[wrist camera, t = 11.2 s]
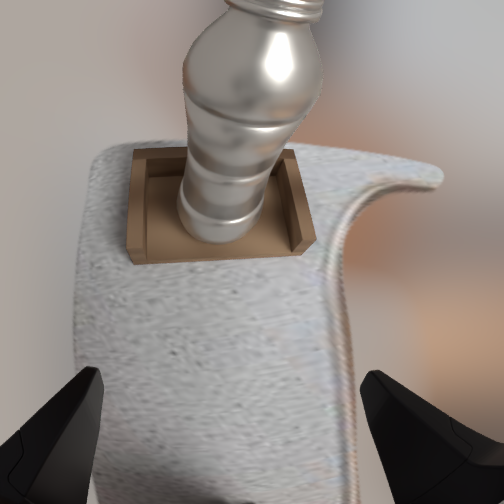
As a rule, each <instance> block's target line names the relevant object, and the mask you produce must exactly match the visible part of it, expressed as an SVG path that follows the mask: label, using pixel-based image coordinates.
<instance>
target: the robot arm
mask: <svg viewBox="0 0 504 504" xmlns="http://www.w3.org/2000/svg"><path fill="white" fill-rule="evenodd" d="M103 394H104V384H103V381H102V377H101V374H100V370H99V369H98V368H96V367H90V366H86V367H85V368H84V369H82V370H81V371H80V372H79V373H78V374H77V375H76V376H75V377H74V378H73V379H72V380H70V381H69V382H68V383H67V384H66V385H65V386H64V387H63V388H62V389H61V390H60V391H59V392H58V393H57V394H55V395H54V396H53V397H52V398H51V399H50V400H49V401H48V402H47V403H46V404H45V405H44V406H43V407H42V408H40V409H39V410H38V411H37V412H36V413H35V414H34V415H33V416H32V417H31V418H30V419H29V420H28V421H27V422H26V423H25V424H24V425H23V426H22V427H21V428H20V430H17V431H16V432H15V434H13V435H12V436H11V437H10V438H9V439H8V440H7V441H6V442H5V443H3V444H2V445H1V446H0V504H86V503H87V496H88V489H89V483H90V477H91V471H92V465H93V460H94V455H95V450H96V445H97V440H98V435H99V429H100V420H101V410H102V402H103ZM360 394H361V397H362V402H363V405H364V410H365V414H366V418H367V422H368V426H369V428H370V431H371V434H372V437H373V439H374V443H375V445H376V448H377V451H378V454H379V457H380V460H381V462H382V465H383V468H384V471H385V474H386V477H387V480H388V483H389V486H390V489H391V493H392V496H393V498H394V502H395V504H504V443H500V442H496V441H494V440H492V439H490V438H488V437H486V436H484V435H482V434H480V433H478V432H476V431H474V430H472V429H470V428H468V427H466V426H465V425H463V424H461V423H460V422H458V421H457V420H455V419H453V418H452V417H449V415H447V414H446V413H444V412H442V411H441V410H439V409H437V408H436V407H435V406H433V405H432V404H430V403H428V402H427V401H425V400H424V399H422V398H421V397H419V396H418V395H416V394H415V393H413V392H412V391H410V390H409V389H407V388H406V387H404V386H403V385H401V384H400V383H398V382H397V381H395V380H394V379H392V378H391V377H389V376H388V375H386V374H384V373H383V372H382V371H380V370H372V371H369V372H368V373H367V374H366V376H365V378H364V380H363V382H362V384H361V386H360Z"/></svg>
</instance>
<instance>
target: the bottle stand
mask: <svg viewBox="0 0 504 504" xmlns="http://www.w3.org/2000/svg"><path fill="white" fill-rule="evenodd" d="M187 155H188V147H166V148H146V149H134V152H133V160H132V169H131V179H130V189H129V202H128V217H127V238H126V249H127V251H128V253H129V255H130V257H131V260H132V262H133V264H134V265H139V264H158V263H177V262H195V261H213V260H230V259H247V258H264V257H281V256H298V255H302V254H303V253H304V252H305V251H306V250H307V249H308V248H309V247H310V246H311V245H312V244H313V243H314V242H315V241H316V235H315V230H314V226H313V222H312V218H311V214H310V210H309V206H308V202H307V198H306V194H305V190H304V186H303V183H302V179H301V175H300V172H299V168H298V164H297V161H296V157H295V154H294V150H293V149H283V150H282V152H281V154H280V155H279V157H278V159H277V160H276V163H275V165H274V166H273V168H272V170H271V172H270V176H269V179H268V182H267V185H266V189H265V192H264V203H263V207H262V212H261V215H260V218H259V220H258V221H257V223H256V224H255V226H254V227H253V228H252V229H251V230H250V231H249V232H248V233H247V234H246V235H245V236H243V237H242V238H241V239H239V240H237V241H235V242H232V243H228V244H221V245H215V244H208V243H205V242H202V241H200V240H198V239H196V238H194V237H193V236H192V235H190V234H189V233H188V232H187V230H186V229H185V228H184V226H183V224H182V222H181V220H180V217H179V214H178V210H177V197H178V192H179V188H180V184H181V182H182V179H183V177H184V171H185V166H186V161H187Z"/></svg>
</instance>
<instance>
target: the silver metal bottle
mask: <svg viewBox="0 0 504 504" xmlns="http://www.w3.org/2000/svg"><path fill="white" fill-rule="evenodd" d="M224 1H225V2H226V4H228V5H230V6H229V8H228V11H226V12H225V13H224V14H223V15H221V16H220V17H219V18H218V19H216V20H215V21H214V22H213V23H211V24H210V25H209V26H208V27H207V28H206V29H205V30H204V31H203V32H202V33H201V34H200V35H199V36H198V37H197V39H196V40H195V41H194V42H193V44H192V46H191V47H190V49H189V51H188V53H187V55H186V58H185V60H184V62H183V90H184V100H185V109H186V117H187V125H188V155H187V161H186V166H185V171H184V177H183V179H182V182H181V184H180V188H179V192H178V197H177V210H178V214H179V217H180V220H181V222H182V224H183V226H184V228H185V229H186V230H187V232H188V233H189V234H190V235H192V236H193V237H194V238H196V239H198V240H200V241H202V242H205V243H208V244H215V245H221V244H228V243H232V242H235V241H237V240H239V239H241V238H242V237H243V236H245V235H246V234H247V233H248V232H249V231H250V230H251V229H252V228H253V227H254V226H255V224H256V223H257V221H258V220H259V218H260V215H261V212H262V207H263V203H264V192H265V189H266V185H267V182H268V179H269V176H270V172H271V170H272V168H273V166H274V165H275V163H276V160H277V159H278V157H279V155H280V154H281V152H282V150H283V148H284V146H285V145H286V143H287V141H288V140H289V139H290V137H291V136H292V134H293V133H294V132H295V130H296V129H297V128H298V126H299V125H300V124H301V122H302V121H303V120H304V118H305V117H306V115H307V114H308V113H309V112H310V110H311V109H312V107H313V106H314V104H315V102H316V100H317V99H318V97H319V96H320V93H321V89H322V81H323V68H322V64H321V60H320V56H319V52H318V49H317V46H316V44H315V41H314V39H313V36H312V34H311V32H310V29H309V28H310V24H312V23H317V22H318V21H319V19H320V17H321V15H322V12H323V10H322V5H323V3H324V0H224Z"/></svg>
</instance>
